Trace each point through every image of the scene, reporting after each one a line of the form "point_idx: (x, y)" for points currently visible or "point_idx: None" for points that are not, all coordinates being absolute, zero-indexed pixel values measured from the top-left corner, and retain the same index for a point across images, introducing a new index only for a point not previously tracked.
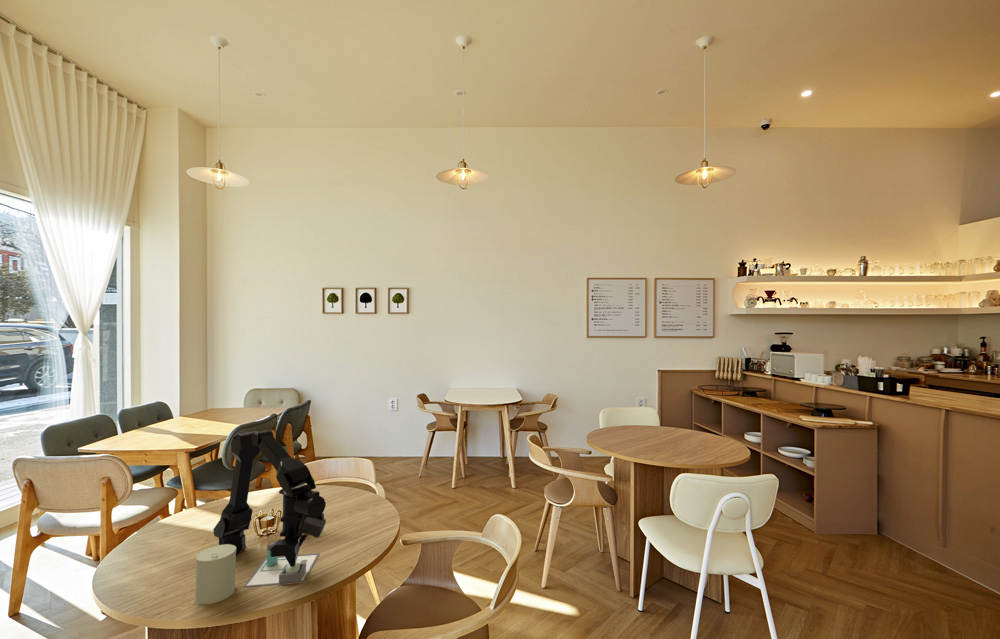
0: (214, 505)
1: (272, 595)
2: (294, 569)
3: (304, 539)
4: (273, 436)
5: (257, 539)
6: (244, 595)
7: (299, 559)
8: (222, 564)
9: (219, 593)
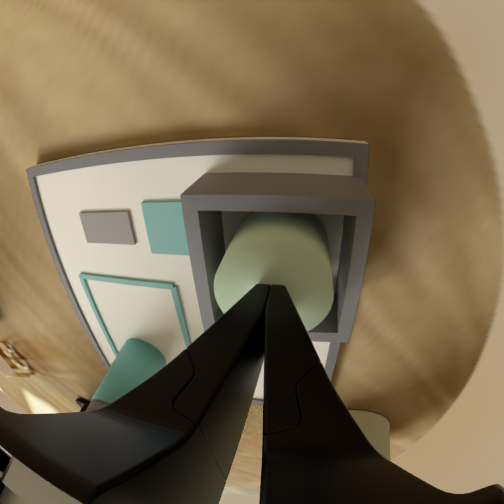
0: (21, 407)
1: (425, 297)
2: (326, 268)
3: (93, 501)
4: None
5: (45, 376)
6: (369, 386)
7: (83, 256)
8: None
9: (387, 446)
